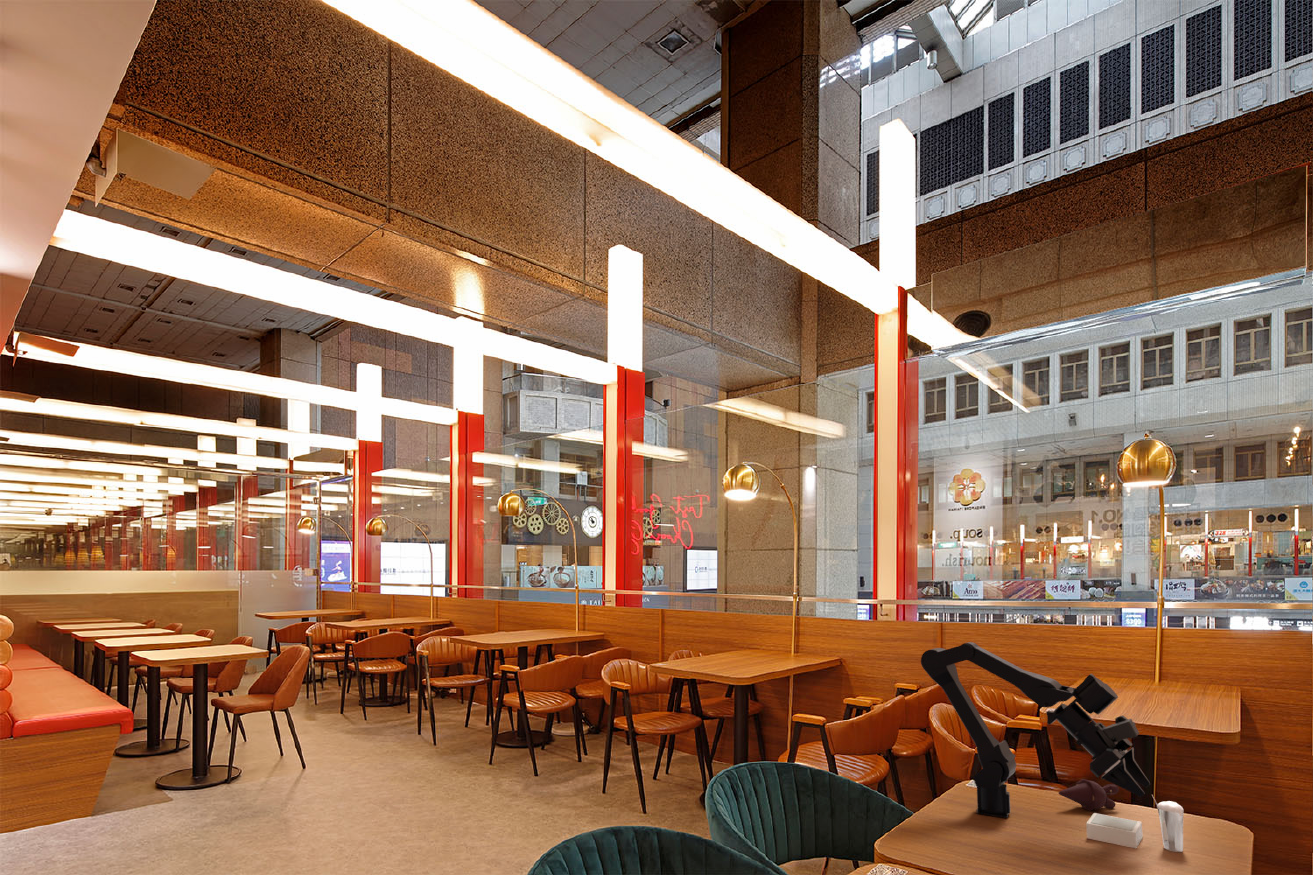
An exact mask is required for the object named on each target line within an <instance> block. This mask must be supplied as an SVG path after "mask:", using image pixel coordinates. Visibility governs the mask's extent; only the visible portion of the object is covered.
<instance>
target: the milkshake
mask: <svg viewBox="0 0 1313 875" xmlns="http://www.w3.org/2000/svg"><path fill="white" fill-rule="evenodd" d="M1151 796H1152V798H1153V800H1154V803H1155V805H1156V808H1157V813H1158V817H1159V822H1160V824H1159V825H1160V830H1161V836H1162V844H1163V848H1164V849H1165V850H1167V851H1168V852H1174V853H1182V852H1183V851H1184V808H1183V806H1182V805H1180V804H1179V803H1177V802H1176V801H1172V800H1171V801H1170V800H1167V801H1161V802H1159V803H1157V801H1156V799H1155V797H1154V795H1153V794H1151Z"/></svg>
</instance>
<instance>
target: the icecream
mask: <svg viewBox="0 0 1313 875" xmlns="http://www.w3.org/2000/svg"><path fill="white" fill-rule="evenodd" d="M1119 791H1120V788H1119V786H1117V785H1115V784H1113V783H1112V784H1106V785H1104V786H1101V785H1100V784H1099V783H1097V782H1095V781H1093V780H1088V779H1085V778H1082V779H1080V780H1079V781H1077V782H1076V783H1075V785H1073V786H1071V787H1067V788H1065V789H1062V790H1060V791H1058V795H1060V796H1062V797H1064V798H1066V799H1068V800H1070V801H1073V802H1076V803H1077V804H1080V806H1081V807H1082V809H1083V810H1085V811H1088V812H1092V811H1093V810H1101V809H1102V808H1106V809H1113V808H1115V807H1116V803H1115V801H1114V800H1112V799H1110V798H1109V796H1112V795H1116V794H1117V793H1119Z"/></svg>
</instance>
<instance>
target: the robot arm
mask: <svg viewBox="0 0 1313 875" xmlns="http://www.w3.org/2000/svg"><path fill="white" fill-rule="evenodd" d="M964 661H968V662H970V663H973V664H975V665H976V666H978V667H980V668H981V669H983V670H985V671H987V672H989V673H991V674H993V675H994V676H997V677H999V679H1002V680H1004V681H1006V682H1008V683H1009V684H1011V685H1013V686H1015V687H1016V688H1017V689H1019V690H1020V691H1021V692H1022V694H1024V695H1025V697H1027V698H1028V699H1030V700H1031V701H1032V702H1034V703H1035V704H1037V705H1038V706H1040V707H1042V708H1051V707H1054V706H1055V705H1057V704H1058V703H1060V705H1058V707H1056V708H1055V709H1054V710H1047V711H1046V712H1045V714H1046V717H1047V718H1046V720H1047V722H1046V723H1047V725H1052V724H1053V723H1054V722H1056V721H1057V722H1058V723H1059V724H1060V725H1061V726H1062V727H1063V728H1064V729H1065V730H1066V731H1067V733H1069V734H1070V735H1071V736H1072V737H1073V738H1074V740H1076V741H1075V743H1076V745H1078V746H1079V747H1080V746H1082V747H1083V749H1085V750H1086V751H1087V752H1088V753H1089V754H1090V755H1091V756H1092V757H1091V760H1092V761H1091V762H1090V763H1089V770H1090V772H1091V773H1092V774H1093V775H1095V777H1096V778H1099V777H1100V779H1101V780H1104V781H1106V782H1109V783H1110V784H1112V785H1113V784H1114V785H1116V786H1117V787H1118V788H1119V787H1120V788H1121V789H1124V790H1126V791H1127V792H1130V793H1132V794H1134V795H1136V796H1138V797H1140V798H1143V796H1144V795H1145V794H1146V793H1145V791H1144V790H1143V789H1142V788H1141V786H1140V785H1142V786H1144V787H1145V788H1148V787H1150V786H1151V782H1150V780H1149V779H1148V777H1147V776H1146V775H1145V773H1144V772H1143V771H1142V769H1141V767H1140V766H1139V764H1138V763H1137V761H1136V759H1135V753H1134V752H1135V748H1134V747H1132V746H1133V743H1132V742H1131V741H1130V740H1129V739H1133V738H1136V737H1138V735H1140V732H1139V730H1138V728H1137V727H1136V722H1134V721H1133V720H1132V718H1127V717H1125V716H1124V715H1120V716H1117V717H1116V718H1115V719H1114V720H1115V723H1112V724H1110V725H1107V726H1106V725H1104V723H1102V722H1100V721H1098V722H1096V721H1095V719H1093V718H1092V717H1091V716H1090V715H1091V714H1093V713H1094V714H1096V715H1100V714H1101V713H1103V712H1104V711H1105V710H1106V709H1108V707H1109V706H1110V705H1111V704H1113V703H1114V702H1115V701H1116V700H1118V698H1119V696H1118V694H1117V693H1116V692H1115V691H1114V690H1113V689H1112V688H1111V686H1109V684H1108V683H1105V682H1103V681H1102V680H1101V679H1100V678H1097V677H1096V675H1094V674H1093V673H1090V674H1088V675H1087V676H1086V677H1085V678H1084V680H1083V681H1082V682H1081V683H1080V684H1079V685H1077V686H1076V687H1072V686H1067V685H1062V684H1061V683H1060V682H1059V681H1057V680H1056V679H1053V678H1052V677H1051V678H1050V677H1049V676H1048V677H1047V676H1045V675H1042V674H1040V673H1036V672H1031V671H1027V670H1025V669H1022V668H1021V667H1019V666H1017V665H1015V664H1013V663H1011V662H1009V660H1008V661H1007V660H1006V659H1004V658H1002V657H1000V656H998V655H996V654H994V653H993V652H991V651H990V650H989V651H988V650H986V649H985V648H983V647H981V646H979V645H978V644H977V643H975V642H973V641H969V642H964V643H962V644H961V645H957V646H954V647H951V648H947V649H946V648H943V647H936V648H931V649H928V650H925V651H924V652H923V653H922V654H921V658H920V665H921V667H922V669H923V670H924V671H925V672H926V673H927V676H929V677H930V679H932V680H933V681H934V682H935V683H936V684H937V685H938V686H939V687H941V689H942V690H943V691H944V694H945V695H946V697H947V699H948V700H949V702H950V703H951V705H952V707H953V709H954V711H955V712H956V714H957V716H958V717H959V719H960V721H961V722H962V724H963V726H964V727H965V730H966V731H967V732H968V734H969V736H970V738H971V739H972V741H973V743H974V744H975V747H976V752H977V756H978V760H979V763H980V765H981V768H982V769H980V770H979V771H978V772H977V773H976V774H974V775H973V777H972V779H973V782H974V785H975V786H976V801H977V802H976V803H977V808H976V814H978V815H984V816H991V817H998V818H1004V819H1008V817H1009V814H1011V796H1010V795H1011V794H1010V791H1008V790H1007V786H1008V785H1007V784H1006V783H1007V782H1008V780H1009V778H1010V777H1012V775H1014V774H1015V772H1016V769H1017V762H1016V760H1015V758H1016V755H1015V754H1014V753H1013V752H1012V751H1011V748H1010V746H1009V744H1008V742H1007V740H1005V739H1004V740H1002V741H1001V742H1000V741H999V740H998V738H995V736H994V735H993V734H992V733H991V731H990V729H989V727H988V726H987V724H986V722H985V721H984V719H983V717H982V716H981V714H980V713H979V711H978V709H977V708H976V706H975V704H974V703H973V701H972V699H971V698H970V696H969V695H968V692H967V690H965V688H964V686H963V684H962V682H961V681H960V678H959V674H958V669H957V665H956V664H957V663H961V662H964ZM1073 697H1074V699H1073V700H1072V701H1071V702H1070V703H1069V704H1068V705H1067V704H1065V703H1064V702H1067V701H1069V700H1070V699H1072V698H1073ZM1062 702H1063V703H1062ZM1089 714H1090V715H1089ZM1139 784H1140V785H1139Z"/></svg>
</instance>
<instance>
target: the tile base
mask: <svg viewBox="0 0 1313 875" xmlns="http://www.w3.org/2000/svg"><path fill="white" fill-rule="evenodd" d="M1085 824H1086V825H1085V826H1086V838H1087V839H1089V840H1094V841H1099V842H1104V843H1109V844H1112V845H1118V846H1123V847H1127V848H1132V849H1137V848H1138V847H1139V845H1140V843H1141V842H1142V841H1141V840H1142V839H1143V825H1142V824H1143V823H1142V821H1140V820H1139V821H1138V820H1135V819H1133V820H1132V819H1129V818H1128V819H1127V818H1124V817H1123V818H1122V817H1117V816H1112V815H1106V814H1101V813H1097V812H1094V813H1092V815H1091V817H1089V819H1088V820H1087V822H1086V823H1085Z"/></svg>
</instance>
